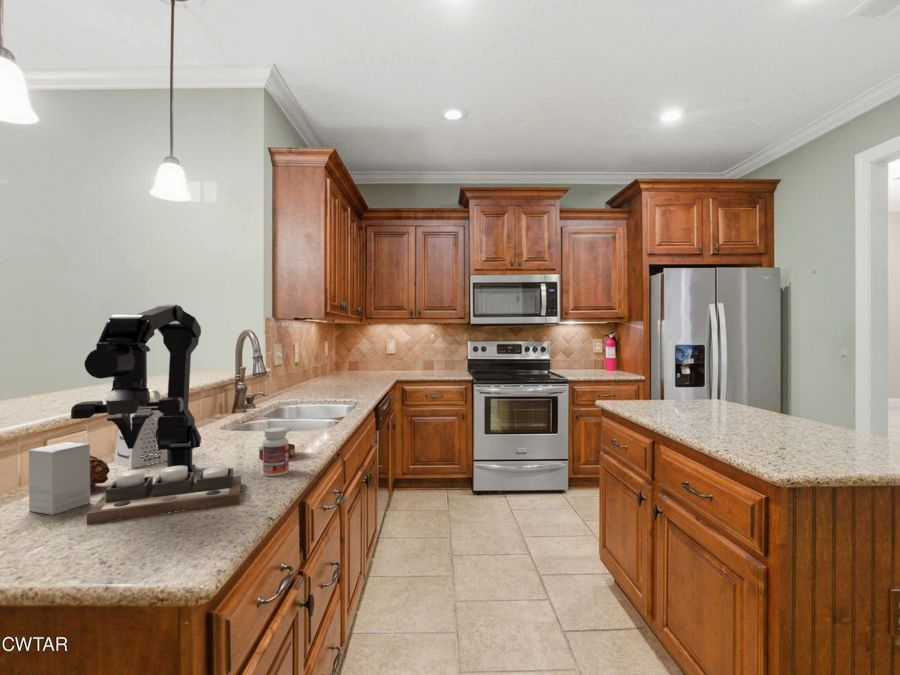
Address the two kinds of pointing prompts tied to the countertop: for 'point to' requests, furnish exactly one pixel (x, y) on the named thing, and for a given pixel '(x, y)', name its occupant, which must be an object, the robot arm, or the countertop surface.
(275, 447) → the pill bottle
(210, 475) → the button
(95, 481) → the dragon fruit
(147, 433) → the grater
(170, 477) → the button middle
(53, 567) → the countertop surface
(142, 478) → the button
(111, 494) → the button board
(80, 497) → the supplement box
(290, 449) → the canned food
